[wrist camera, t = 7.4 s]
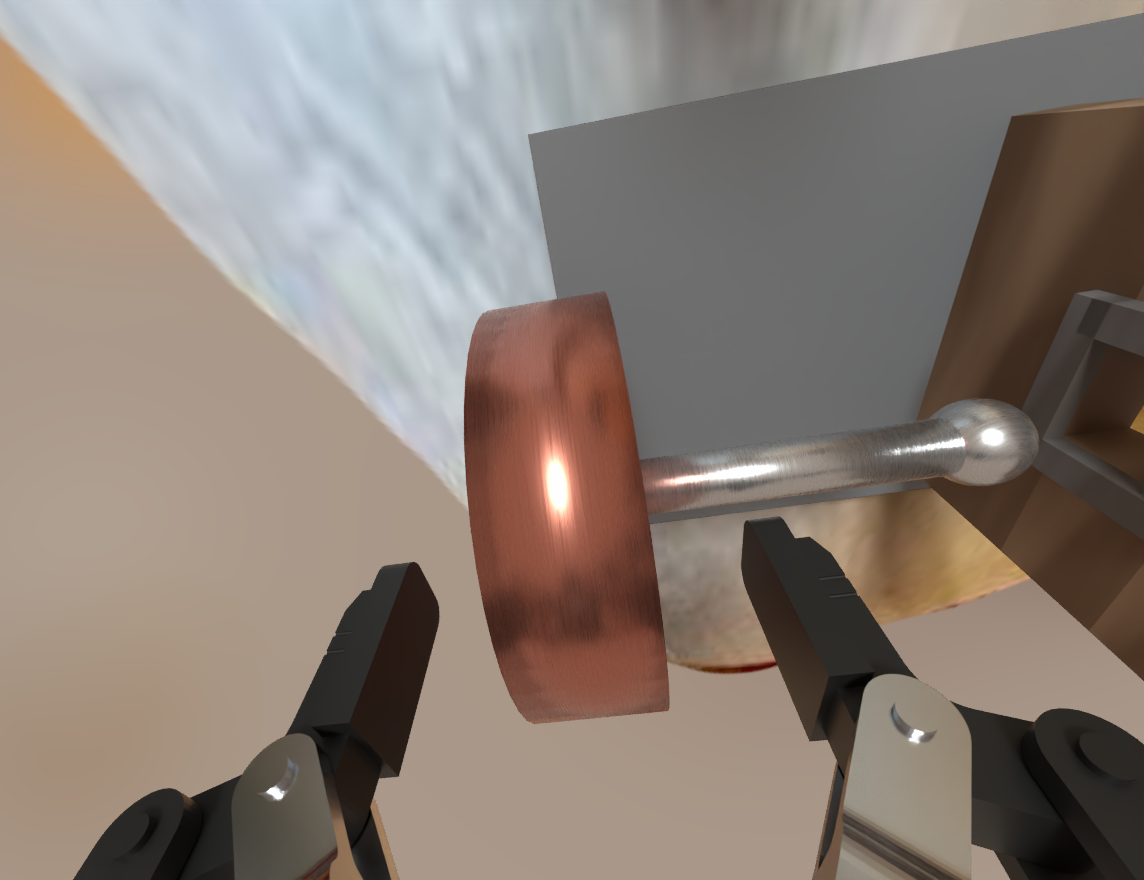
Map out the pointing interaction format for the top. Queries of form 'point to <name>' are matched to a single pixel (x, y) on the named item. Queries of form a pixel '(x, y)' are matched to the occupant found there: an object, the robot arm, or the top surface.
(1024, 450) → the copper disc with rod
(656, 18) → the top surface
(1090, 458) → the brown wooden panel
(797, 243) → the base board
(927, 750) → the robot arm
